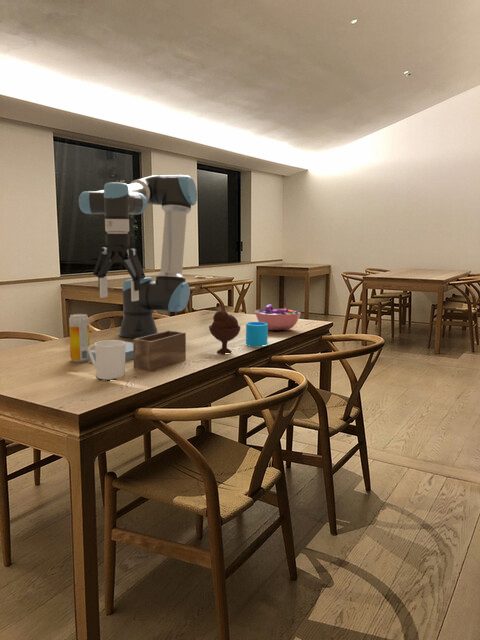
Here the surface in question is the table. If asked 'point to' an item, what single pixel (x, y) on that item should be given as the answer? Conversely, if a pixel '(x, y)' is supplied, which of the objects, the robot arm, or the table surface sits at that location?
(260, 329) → the mug
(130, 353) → the lid
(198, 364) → the table surface
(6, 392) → the table surface
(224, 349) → the ice cream bowl
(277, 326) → the cell model
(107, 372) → the mug
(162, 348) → the box
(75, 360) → the beer can
